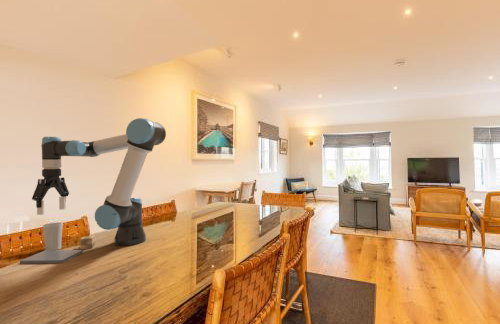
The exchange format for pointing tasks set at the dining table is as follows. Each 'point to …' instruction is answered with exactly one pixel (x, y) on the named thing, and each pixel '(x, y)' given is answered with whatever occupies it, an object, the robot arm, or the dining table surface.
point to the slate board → (52, 256)
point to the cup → (52, 235)
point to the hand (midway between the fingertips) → (52, 211)
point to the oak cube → (87, 242)
